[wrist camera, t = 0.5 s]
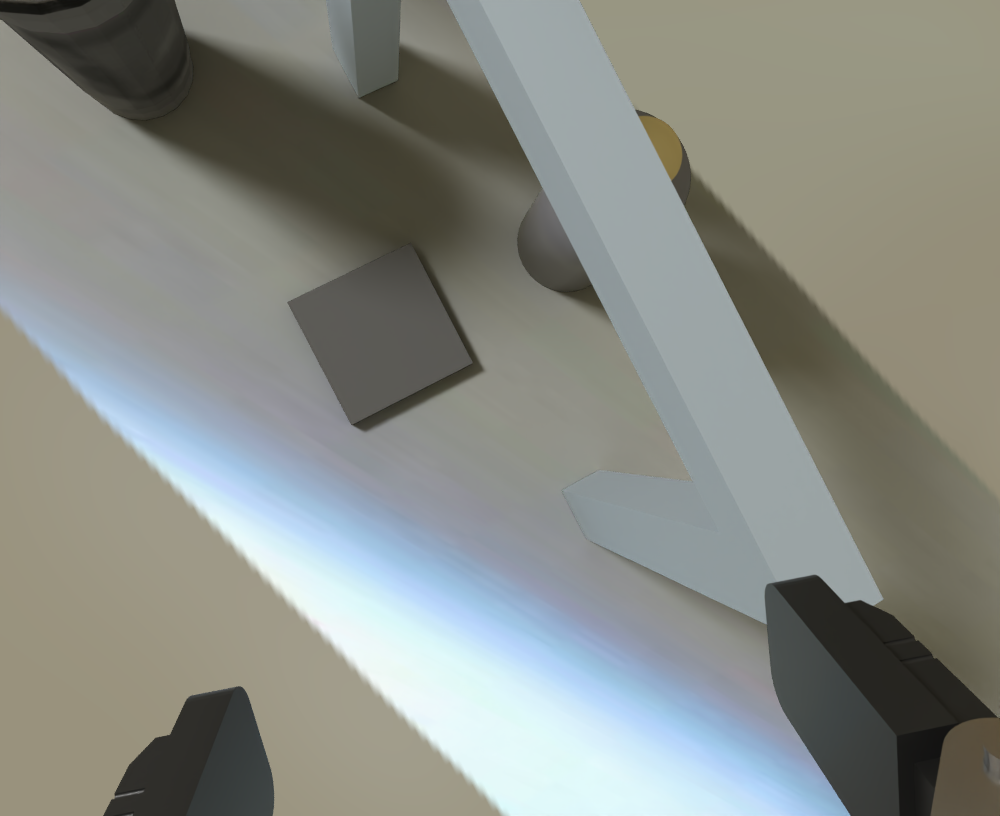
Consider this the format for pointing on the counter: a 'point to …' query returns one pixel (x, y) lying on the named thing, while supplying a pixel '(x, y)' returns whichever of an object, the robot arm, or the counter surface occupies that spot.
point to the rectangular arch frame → (645, 314)
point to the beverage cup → (111, 49)
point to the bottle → (547, 240)
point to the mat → (380, 333)
